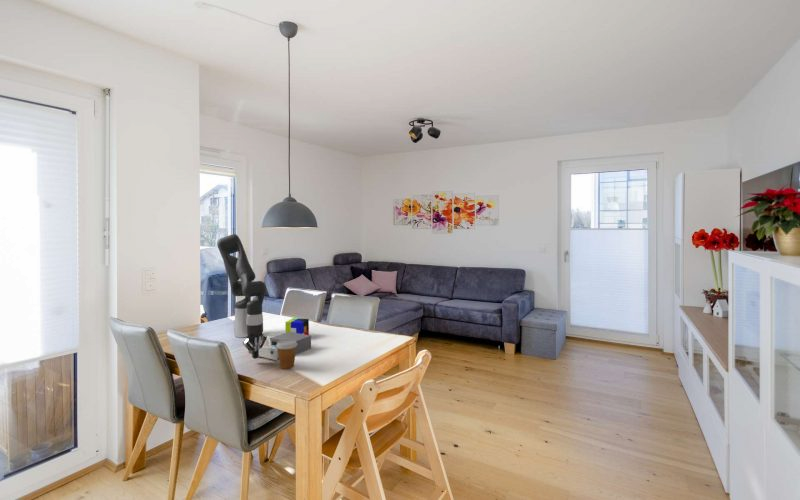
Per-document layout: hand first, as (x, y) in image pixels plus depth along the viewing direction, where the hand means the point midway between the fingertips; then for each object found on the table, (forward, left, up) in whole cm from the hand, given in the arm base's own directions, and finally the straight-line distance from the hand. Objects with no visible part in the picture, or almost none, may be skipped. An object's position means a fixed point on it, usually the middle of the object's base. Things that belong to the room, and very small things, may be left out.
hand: (255, 358), depth 192 cm
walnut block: (-13, +11, -2) cm, 17 cm away
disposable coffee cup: (+17, +4, -3) cm, 18 cm away
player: (0, +24, -2) cm, 24 cm away
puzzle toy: (-14, +44, -3) cm, 46 cm away
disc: (0, +12, 0) cm, 12 cm away
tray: (0, +13, -2) cm, 13 cm away
